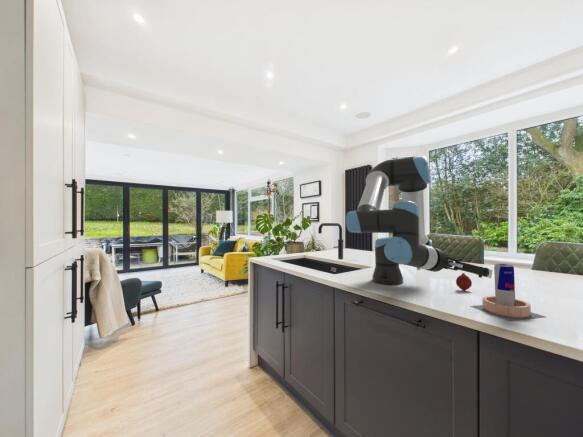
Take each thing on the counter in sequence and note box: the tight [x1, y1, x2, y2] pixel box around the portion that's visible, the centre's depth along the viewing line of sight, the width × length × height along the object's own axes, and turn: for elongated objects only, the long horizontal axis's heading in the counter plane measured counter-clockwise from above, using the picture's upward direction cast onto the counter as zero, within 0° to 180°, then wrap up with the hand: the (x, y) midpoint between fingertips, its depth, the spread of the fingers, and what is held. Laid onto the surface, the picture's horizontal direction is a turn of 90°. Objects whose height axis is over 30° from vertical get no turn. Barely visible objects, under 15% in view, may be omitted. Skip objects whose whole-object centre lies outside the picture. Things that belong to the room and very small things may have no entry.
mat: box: [469, 304, 547, 322], centre depth 84 cm, size 14×14×1 cm
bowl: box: [482, 295, 532, 318], centre depth 84 cm, size 12×12×3 cm
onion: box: [455, 272, 473, 292], centre depth 112 cm, size 6×6×8 cm
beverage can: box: [493, 263, 516, 306], centre depth 84 cm, size 5×5×15 cm
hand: (468, 268), depth 88 cm, fingers open, 13 cm apart
